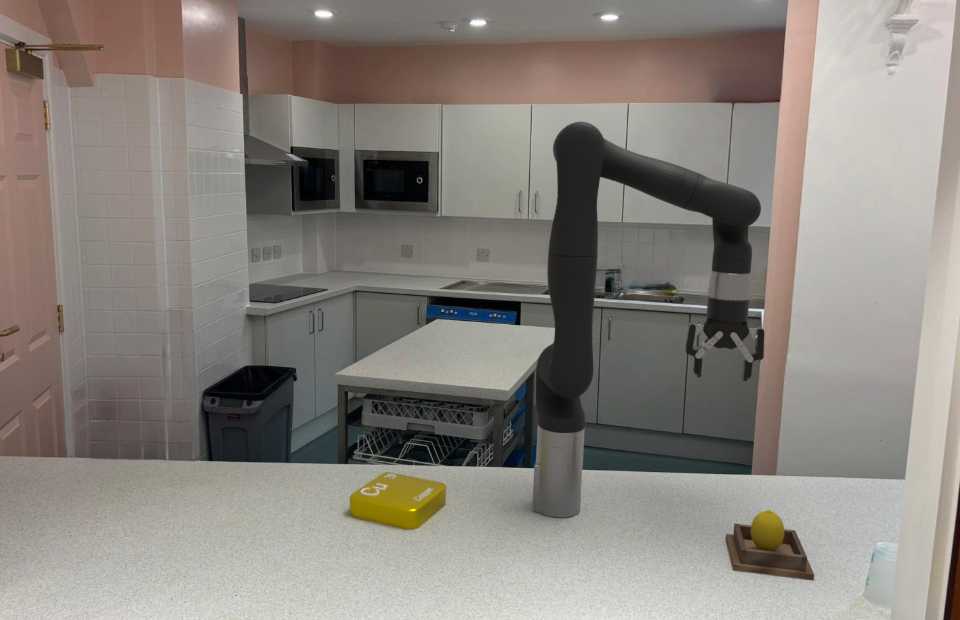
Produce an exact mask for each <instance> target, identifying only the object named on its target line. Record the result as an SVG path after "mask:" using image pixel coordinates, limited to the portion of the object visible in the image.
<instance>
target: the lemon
mask: <svg viewBox="0 0 960 620" xmlns="http://www.w3.org/2000/svg"><path fill="white" fill-rule="evenodd" d="M752 519H753V520H752V522H751V524H750V525H751V538H752V540H753V542H754V544H755V545H756V546H757V547H758V548H759V549H761V550H763V551H773V550H776V549H777V548H778V547H780V545H781V544H782V542H783V539H784V529H785V526H784V523H783V520H782V518H781V517H780V516H779V515H778V514H777V513H775V512H774V511H772V510H771V509H767V510H763V511H760V512H758V513H757V514H756V515H755V516H754V518H752Z"/></svg>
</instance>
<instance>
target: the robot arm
mask: <svg viewBox="0 0 960 620" xmlns="http://www.w3.org/2000/svg"><path fill="white" fill-rule="evenodd" d="M552 152H553V153H552V154H553V157H554V161H555V162H556V174H557V175H556V176H557V181H556V183H557V195H556V196H557V198H556V205H555V211H554V215H553V221H552V224H551V229H550V237H549V242H548V243H549V244H548V251H547V253H548V254H547V255H548V256H547V268H546V269H547V273H546V275H547V286H548V293H549V299H550V304H551V307H552V313H553V319H554V320H553V321H554V339H553V343H552V344H550V345H548V346H547V347H545V348H544V349H543V350H542V351H541V353H540V354H539V356H538V359H537V362H536V368H535V409H536V413H537V414H536V415H537V431H536V432H537V435H536V453H535V454H536V455H535V456H536V457H535V463H534V466H533V467H534V469H533V486H532V487H533V488H532V489H533V490H532V491H533V492H532V509H531V510H532V512H536V513H540V514H542V515H544V516H548V517H551V518H552V517H553V518H568V517H572V516H576V515H577V514H578V513H580V511H581V500H582V483H583V482H582V481H583V480H582V479H583V464H584V450H585V449H584V448H585V446H584V445H585V431H586V430H585V428H586V414H585V411H584V409H583V405H582V402H581V396H582V395H583V394H585V393H586V392H587V390H588V389H589V387H590V385H591V383H592V381H593V377H594V349H593V346H594V345H593V319H594V318H593V317H594V309H595V307H594V305H595V293H596V283H597V282H596V281H597V271H598V270H597V269H598V255H599V254H598V253H599V252H598V250H599V247H598V243H599V225H598V224H599V222H598V197H599V196H598V195H599V187H600V181H601V178H602V179H605V180H610V181H613V182H615V183H619V184H622V185H625V186H626V187H630V188H632V189H634V190H636V191H639V192H642V193H644V194H645V195H648V196H650V197H652V198H655V199H657V200H660V201H663V202H664V203H667V204H670V205H673V206H674V207H678V208H680V209H683V210H686V211H689V212H690V211H691V212H694V213H698V214H702V215H705V216H707V217H709V218H711V219H712V221H711V223H712V237H713V238H712V239H713V251H712V258H711V259H712V261H711V272H710V278H709V282H708V288H707V295H708V296H707V305H706V318H705V319H706V320H705V322H704V323H703V324H697V323H695V322H693V321H690V322H689V323H688V327H687V333H686V341H685V348H684V350H685V353H686V354H687V355H690V356H692V357H693V372H694V373H693V374H695V375H696V378H702V369H703V358H702V357H703V356H704V355H705V354H706V353H707V352H708V351H710V350H711V348H713V347H714V348H716V349H729V350H734V349H736V348H738V350H739V351H740V353H741V354H742V356H743V357H744V360H743V365H742V373H741V374H742V375H741V380H742V382H747V381H748V379H751V377H752V370H753V364H754V362H755V361H761V360H762V361H763V359H764V358H765V330H764V328H763V327H762V326H757V327H749V326H748V321H749V319H748V318H749V317H748V316H749V311H750V310H749V309H750V296H751V295H750V294H751V287H752V286H751V285H752V284H751V270H752V261H753V260H752V259H753V247H752V245H751V243H750V242H749V226H752V225H753V224H754V223H755V222H757V220H758V219H759V217H760V215H761V211H762V206H761V205H762V204H761V202H760V200H759V198H758V196H757V195H756V194H755V193H753V192H752V191H750V190H748V189H745V188H743V187H739V186H736V185H733V184H730V183H726V182H722V181H720V180H715V179H712V178H710V177H708V176H706V175H704V174H702V173H700V172H697V171H694V170H691V169H689V168H687V167H683V166H681V165H678V164H675V163H672V162H669V161H665V160H661V159H658V158H654V157H650V156H647V155H643V154H640V153H637V152H634V151H631V150H628V149H626V148H624V147H621V146H619V145H616V144H615V143H613V142H611V141H609V140H608V139H606V138H604V135H603V134H602V132H601V131H600V129H599V128H598V127H597V126H595V125H594V124H592V123H590V122H587V121H575V122H573V123H569V124H567V125H566V126H565V127H563V128H562V129H561V130H560V131H559V133H557V135H556V137H555V139H554V141H553V145H552ZM701 331H702V332H703V333H704V335H705V337H706V338H705V340H703V341H702V343H701V344H700V346H698V348H694V344H695V343H694V342H695V339H696V338H695V336H698V335H699V334H700V332H701ZM749 335H751V337H752V339H753V340H754V341H755V345H754V346H755V348H754V349H755V350H754V351H755V352H752V353H751V352H750V351H749V350H748V348H747V347H746V345H745V344H744V342H743V341H744V340H745V339H746V338H747V337H748V336H749Z"/></svg>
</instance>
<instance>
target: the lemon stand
mask: <svg viewBox="0 0 960 620" xmlns="http://www.w3.org/2000/svg"><path fill="white" fill-rule="evenodd" d="M751 525H752V524H743V523H735V522H734V523H733V534H731V533H725V542H726V546H727V550H728V554H729V559H730V563H731V566H732V567H731V568H732V571H736V572H737V571H738V572H746V573H747V572H748V573H755V574H762V575H769V576H771V575H772V576H779V577H787V578H795V579H802V580H811V581H814V579H815V573H814V571H813V569H812V567H811V564H810V562H809V560H808V556H807V554H806V552H805V550H804V547H803V545H802V543H801V540H800V538H799V535H798V534H797V530H795V529H789V528H784V539H783V542H782V544H781V545H780V547H778V548H777V549H776V550H773V551H763V550H761V549H759V548H758V547H757V546H756V545H755V544H754V542H753V540H752V538H751Z"/></svg>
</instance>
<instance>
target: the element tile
mask: <svg viewBox="0 0 960 620" xmlns="http://www.w3.org/2000/svg"><path fill="white" fill-rule="evenodd" d="M446 504H447V485H446V484H445V483H444V482H440V481H435V480H431V479H425V478H421V477H415V476H411V475H405V474H400V473H394V472H389V471H387V472H382V473H381V474H378V476H377V477H376V476H375V478H373V479H372V480H370V481H369V482H367V483H366V484H364V485H362V486H361V487H360V488H359V489H356V491H354V492H352V493H351V494H350V496H349V516H351V517H352V518H354V519H358V520H363V521H368V522H371V523H375V524H376V523H377V524H379V525H383V526H384V525H385V526H390V527H393V528H397V529H401V530H402V529H403V530H407V531H408V530H410V531H411V530H416V529H419V528H421V527H422V526H423V525H424V524H425V523H427V521H429V520H430V519H431V518H432V517H433V516H434V515H436V513H438V512H439V511H440V510H442V508H443V507H445V506H446Z"/></svg>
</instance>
